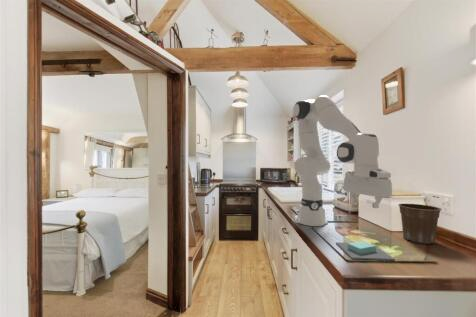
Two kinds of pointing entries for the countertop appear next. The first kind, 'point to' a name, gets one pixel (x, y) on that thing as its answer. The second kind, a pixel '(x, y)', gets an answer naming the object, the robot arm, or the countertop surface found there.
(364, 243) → the teal board
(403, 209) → the plant pot
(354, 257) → the mat
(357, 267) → the countertop surface
